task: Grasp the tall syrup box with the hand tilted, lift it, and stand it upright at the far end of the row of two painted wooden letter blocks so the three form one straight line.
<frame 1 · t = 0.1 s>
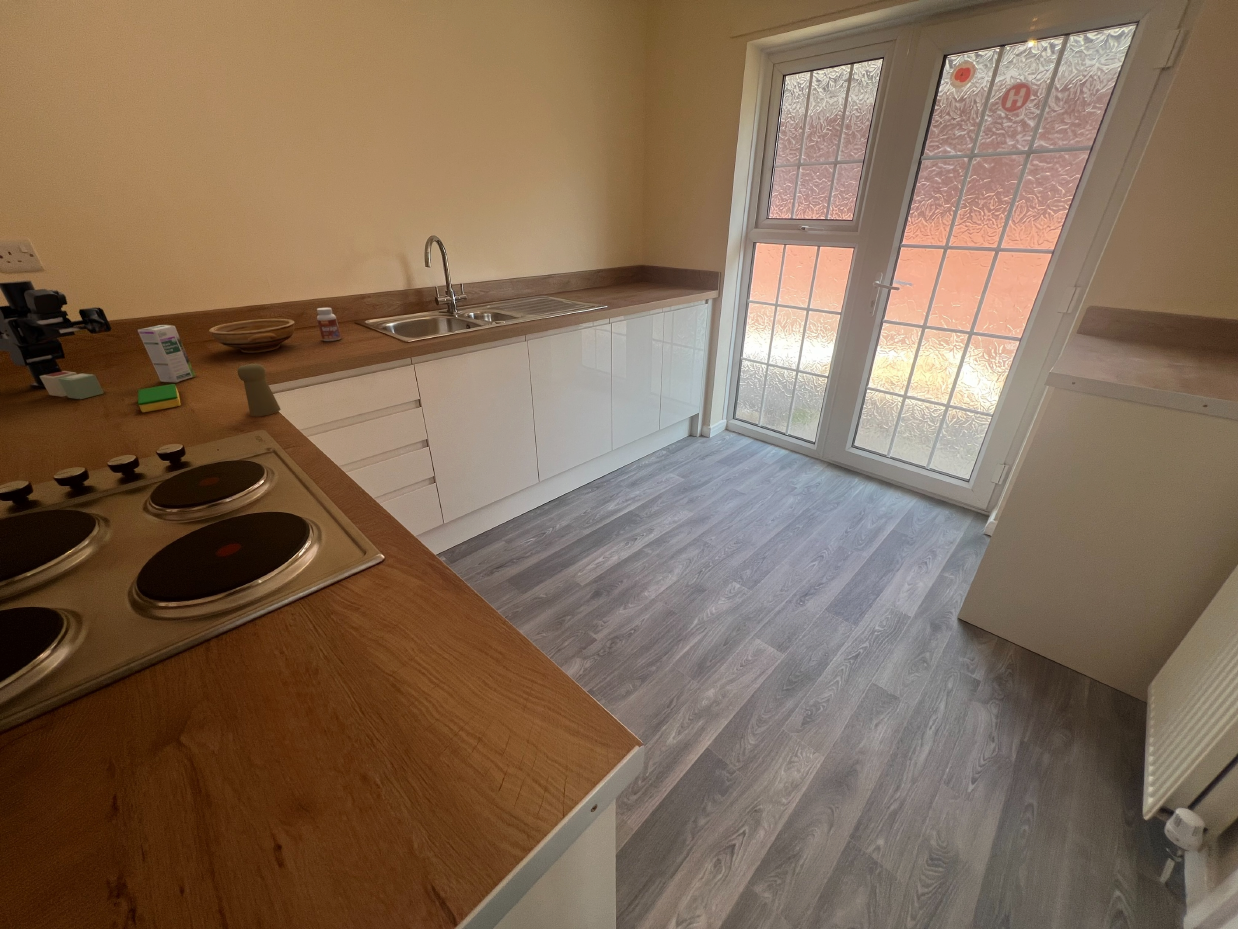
hand: (82, 327, 123), 17 cm above the counter, tool horizontal, fingers open, 9 cm apart
cream letter block: (67, 392, 130), on the counter
wooden bowl: (261, 349, 172), on the counter
dish sponge: (161, 403, 123), on the counter
syrup box: (178, 379, 140), on the counter
pill bottle: (332, 340, 184), on the counter
sage letter block: (86, 395, 128), on the counter
sage salt shaker: (265, 412, 116), on the counter
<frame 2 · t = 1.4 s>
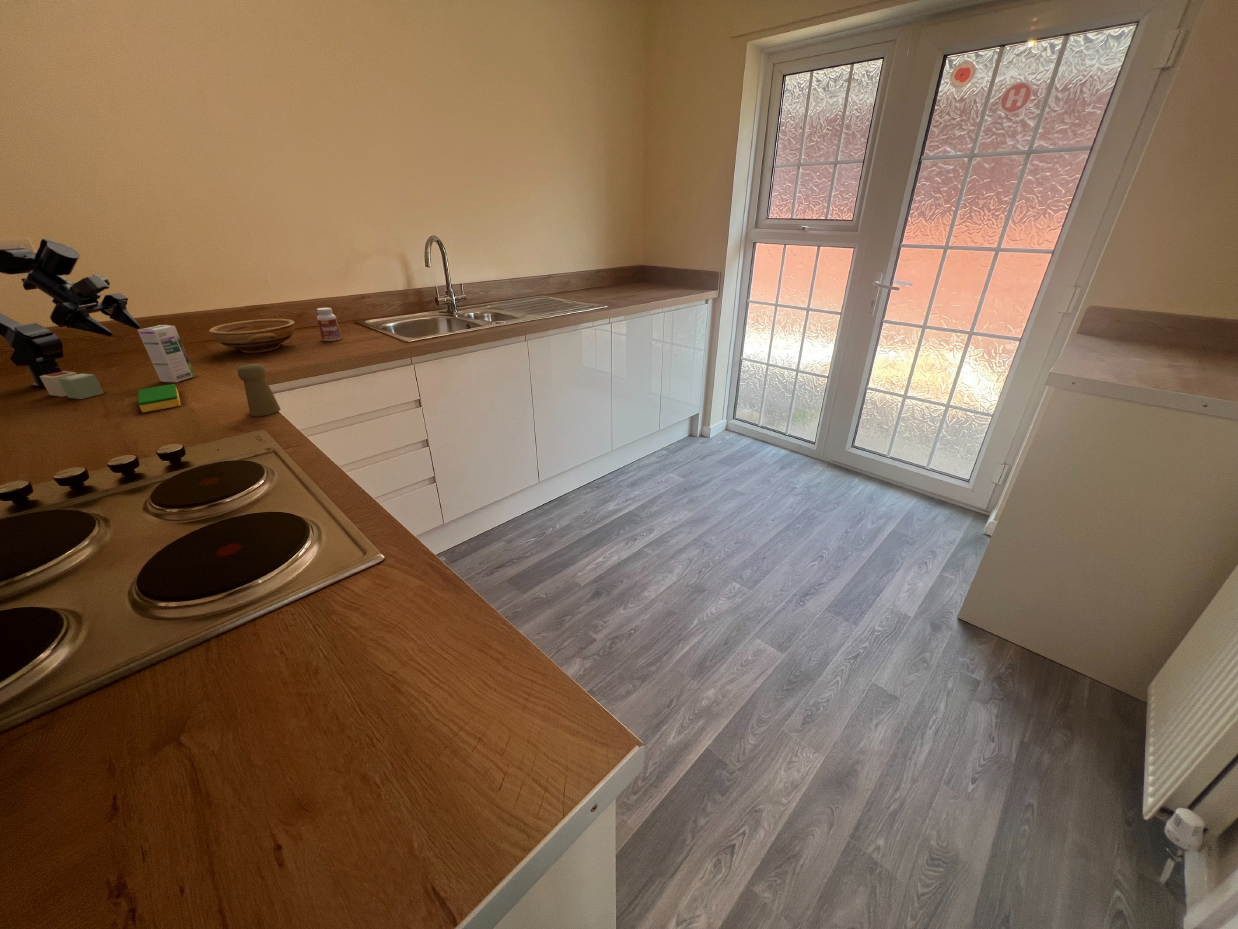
hand: (125, 331, 134), 14 cm above the counter, tool tilted 45°, fingers open, 9 cm apart
nothing on the counter moved.
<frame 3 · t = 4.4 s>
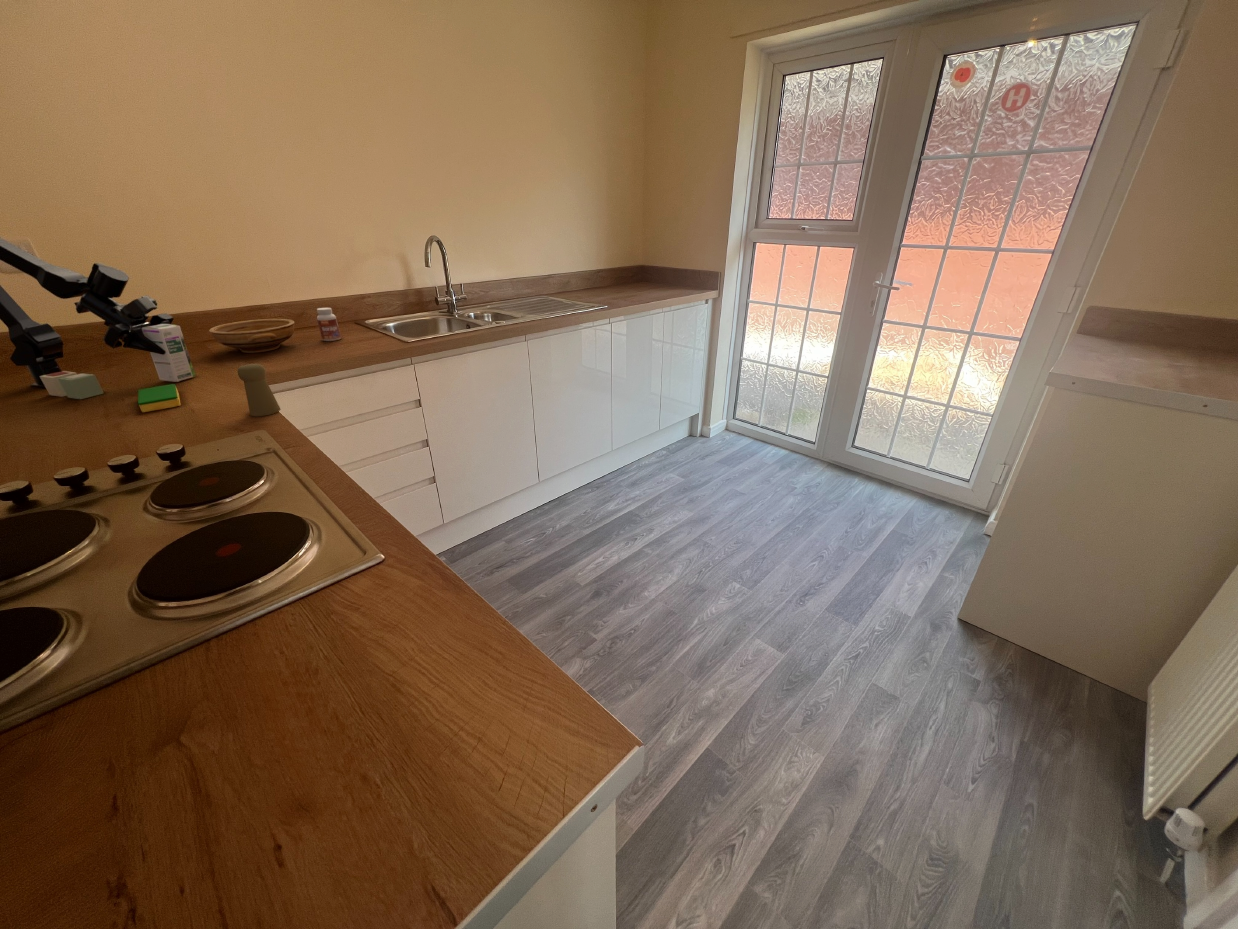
hand: (173, 350, 137), 8 cm above the counter, tool tilted 45°, fingers closed on syrup box, 6 cm apart
syrup box: (177, 379, 140), on the counter, touching gripper
everything else where it was.
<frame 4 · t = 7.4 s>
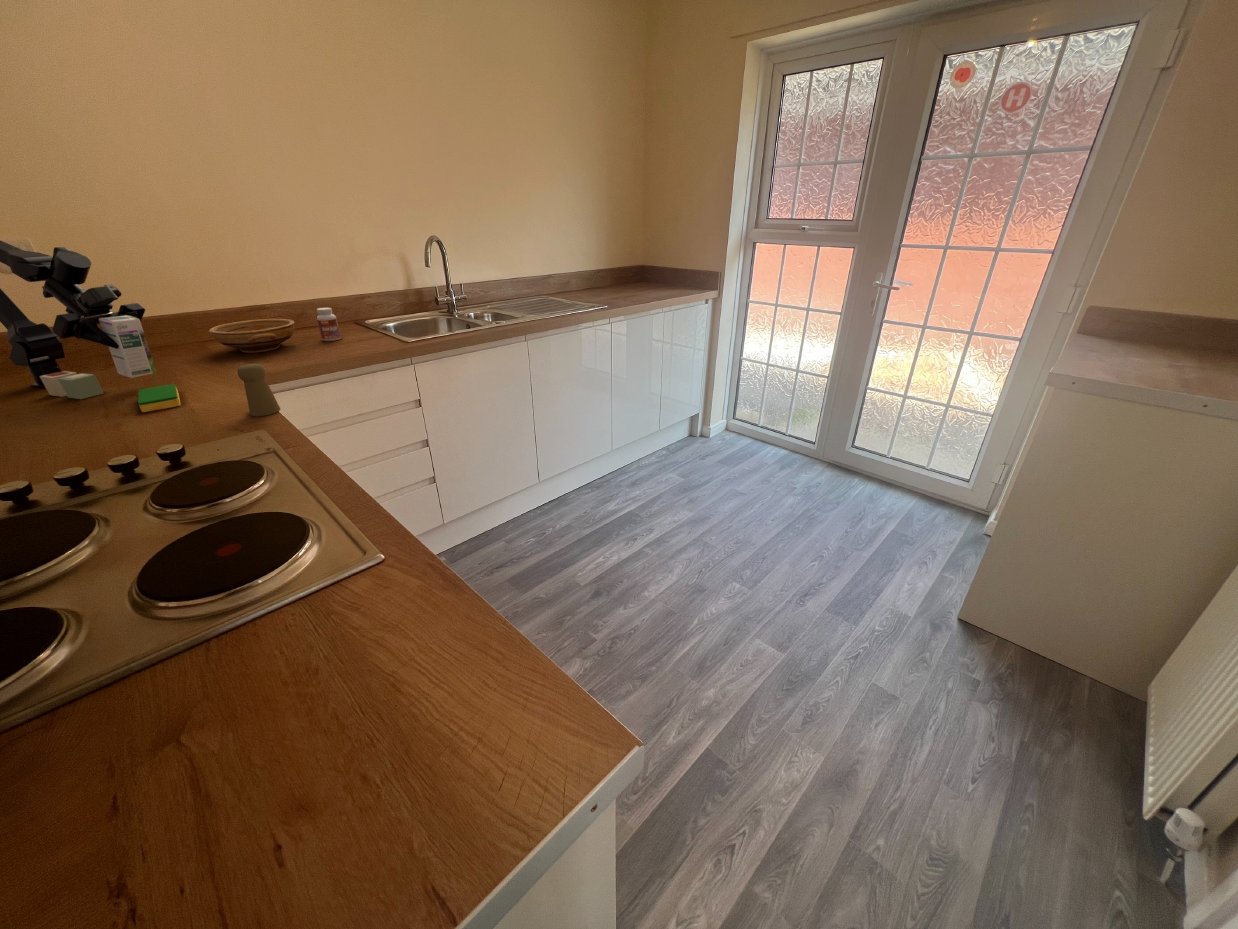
hand: (131, 344, 128), 12 cm above the counter, tool tilted 45°, fingers closed on syrup box, 6 cm apart
syrup box: (137, 374, 131), point 4 cm above the counter, touching gripper
everything else where it was.
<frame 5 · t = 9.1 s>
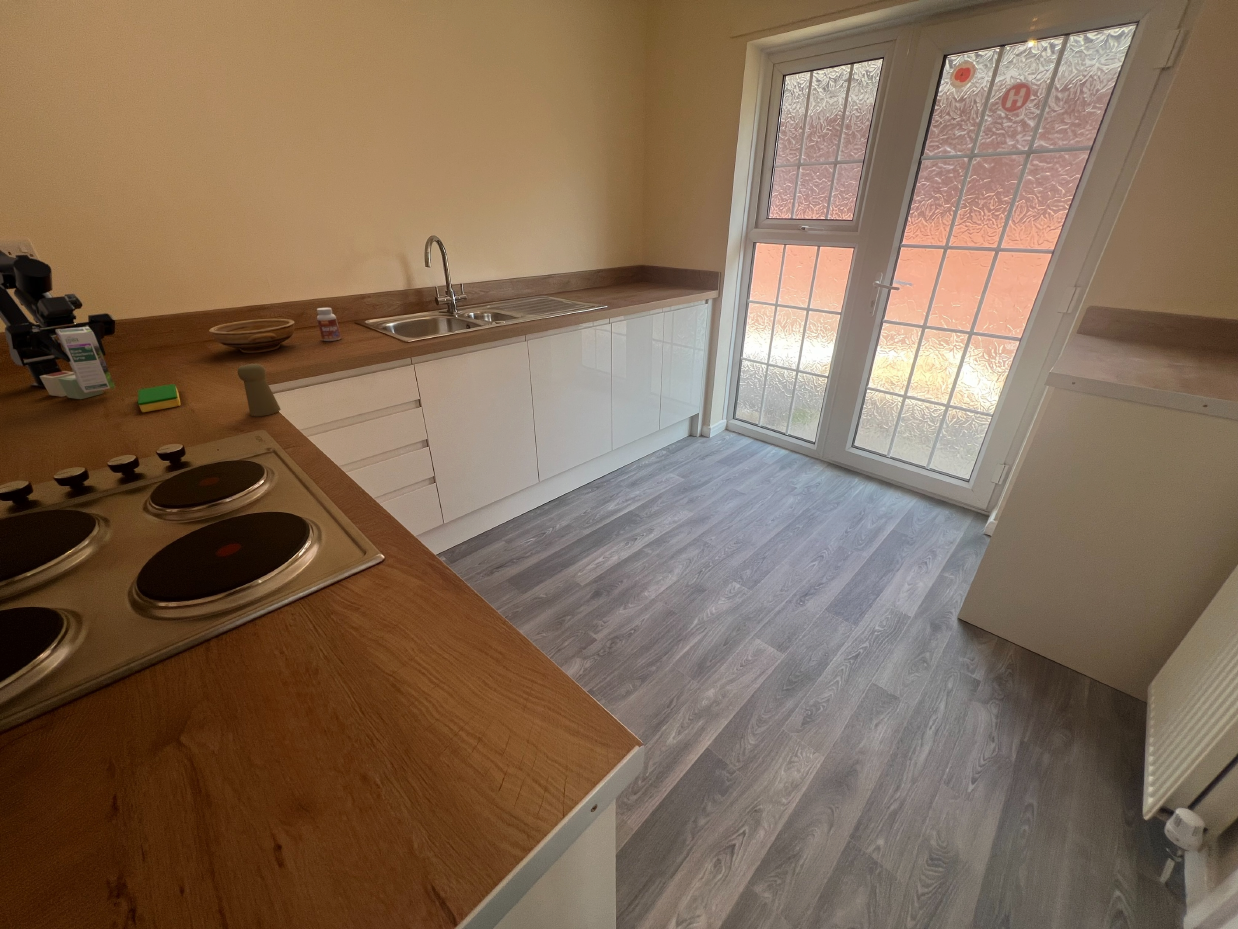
hand: (87, 357, 121), 10 cm above the counter, tool tilted 45°, fingers closed on syrup box, 6 cm apart
syrup box: (97, 388, 125), point 3 cm above the counter, touching gripper
everything else where it was.
when the fingers open (8 cm above the counter, at t = 10.3 s): syrup box stays where it is, on the counter.
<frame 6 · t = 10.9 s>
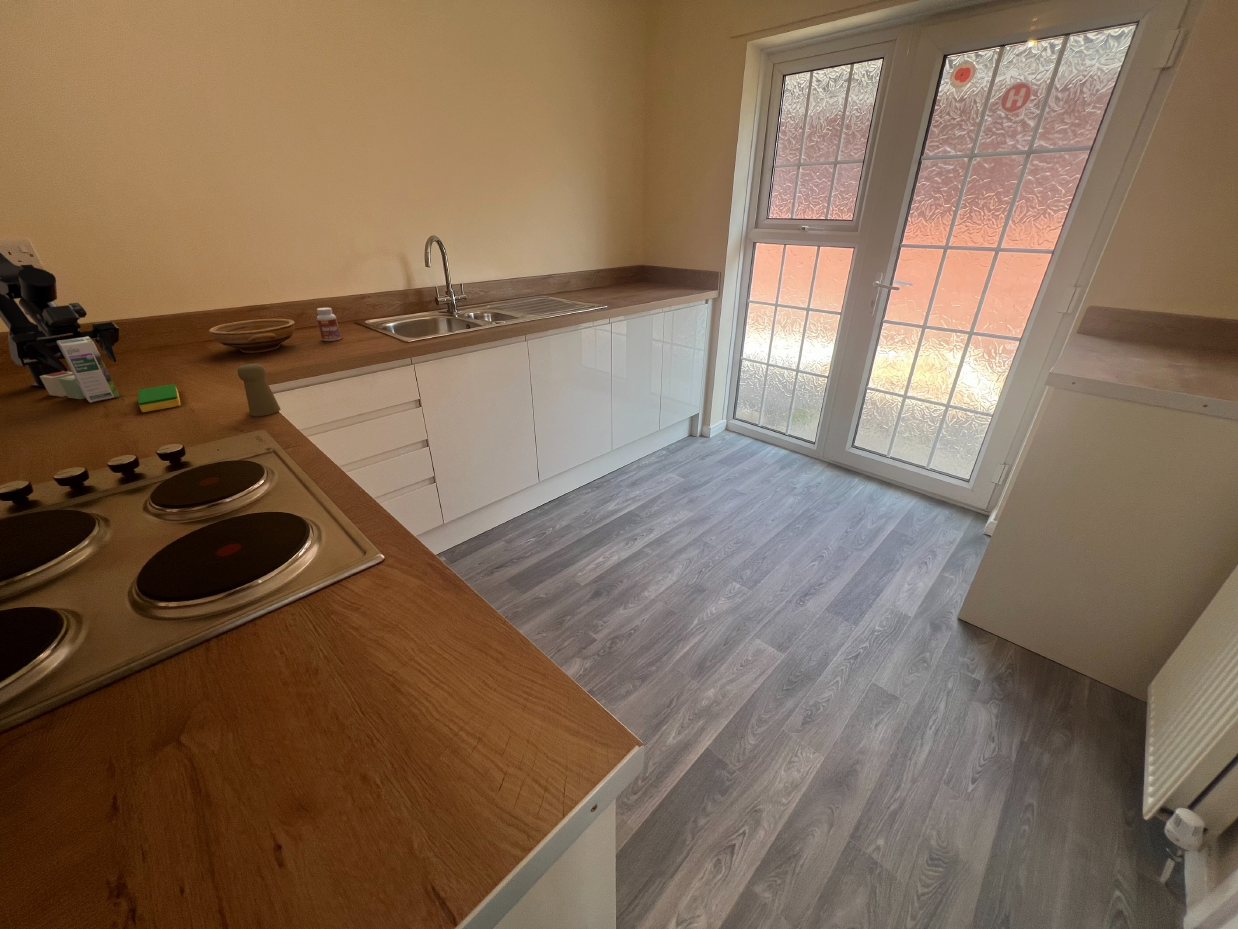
hand: (91, 365, 122), 8 cm above the counter, tool tilted 45°, fingers open, 9 cm apart
syrup box: (102, 397, 126), on the counter, touching gripper
everything else where it was.
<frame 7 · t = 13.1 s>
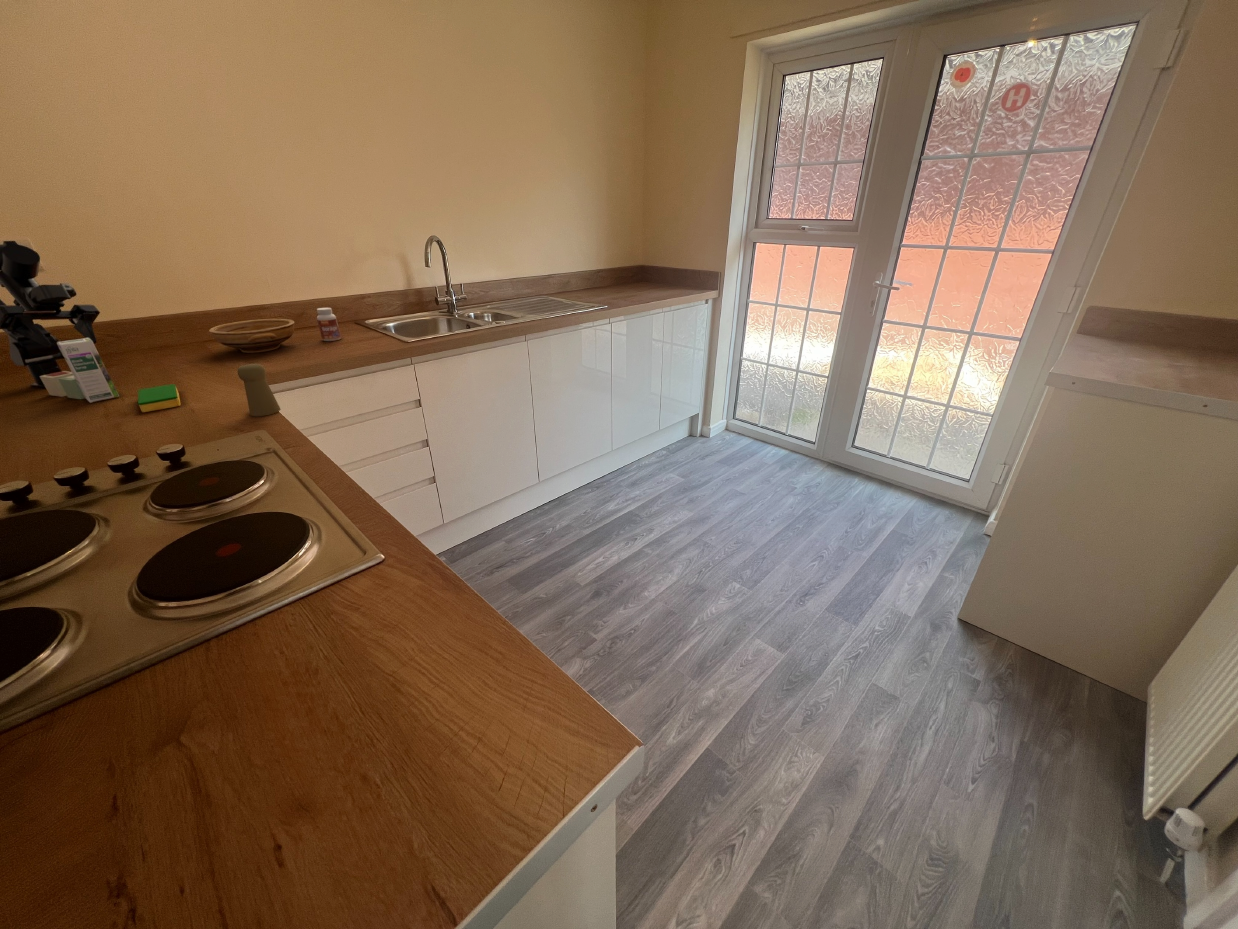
hand: (73, 344, 125), 13 cm above the counter, tool tilted 40°, fingers open, 9 cm apart
syrup box: (103, 398, 126), on the counter
everything else where it was.
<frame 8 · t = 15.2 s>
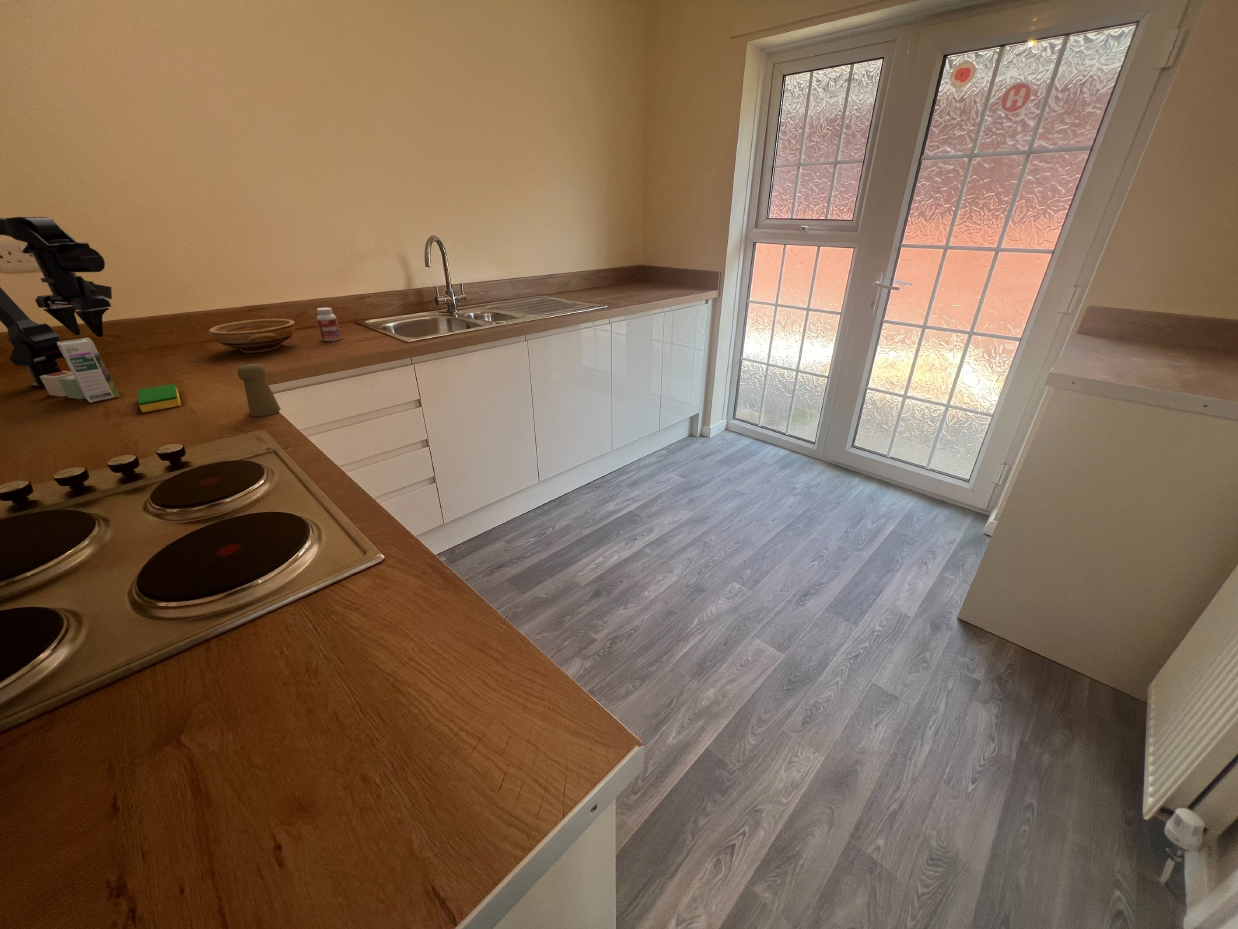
hand: (89, 335, 132), 13 cm above the counter, tool pointing down, fingers open, 9 cm apart
nothing on the counter moved.
at the end: syrup box 1.2 cm from the target spot, on the counter; syrup box tilted 0°; the gripper is holding nothing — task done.
